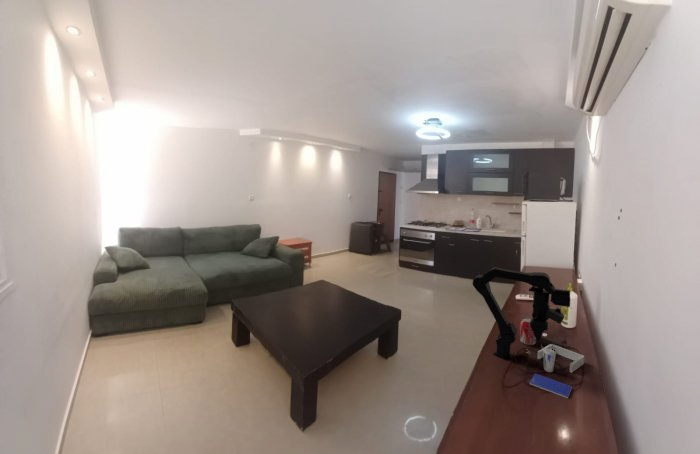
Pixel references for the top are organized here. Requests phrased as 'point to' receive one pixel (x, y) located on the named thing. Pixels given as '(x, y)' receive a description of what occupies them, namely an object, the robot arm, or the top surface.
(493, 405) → the top surface
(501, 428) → the top surface
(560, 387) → the hard drive
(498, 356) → the robot arm
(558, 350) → the box
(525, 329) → the soda can
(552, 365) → the milkshake
